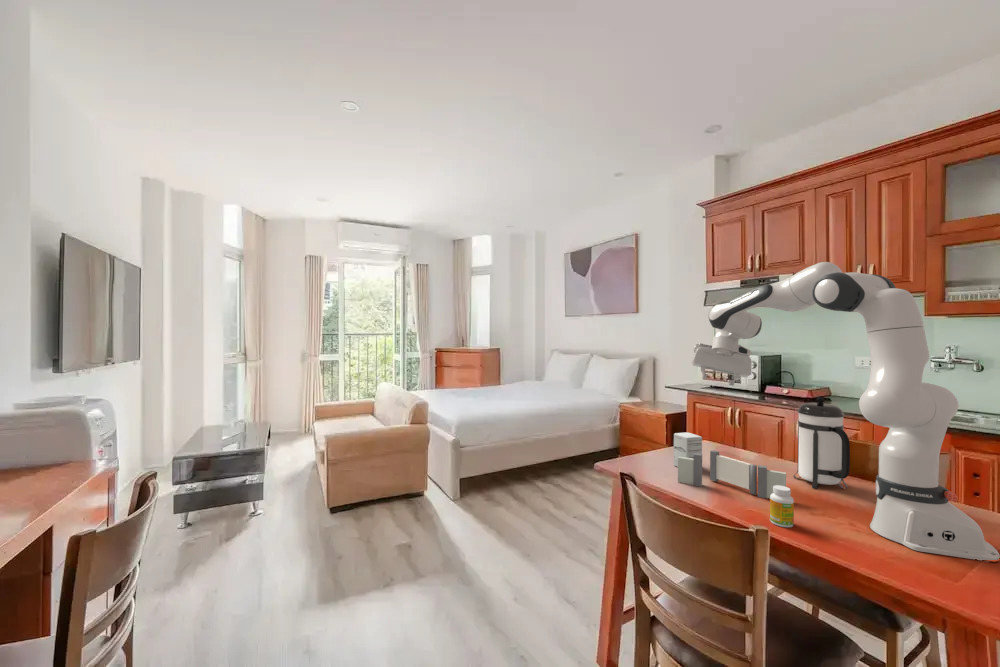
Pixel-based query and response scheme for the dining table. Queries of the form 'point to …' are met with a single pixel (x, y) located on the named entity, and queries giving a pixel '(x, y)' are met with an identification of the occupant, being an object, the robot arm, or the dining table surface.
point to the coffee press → (822, 444)
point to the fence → (693, 475)
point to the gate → (733, 471)
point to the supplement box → (686, 445)
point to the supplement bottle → (781, 506)
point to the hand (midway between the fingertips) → (717, 381)
